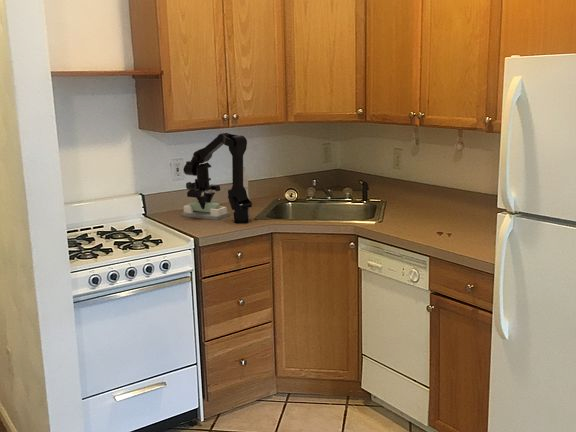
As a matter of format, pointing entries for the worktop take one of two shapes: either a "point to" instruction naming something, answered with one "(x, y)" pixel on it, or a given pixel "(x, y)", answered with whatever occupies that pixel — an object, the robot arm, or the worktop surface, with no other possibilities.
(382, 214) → the worktop surface
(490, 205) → the worktop surface
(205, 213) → the cradle
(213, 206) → the pale green bar
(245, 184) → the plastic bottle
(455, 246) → the worktop surface
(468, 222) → the worktop surface
